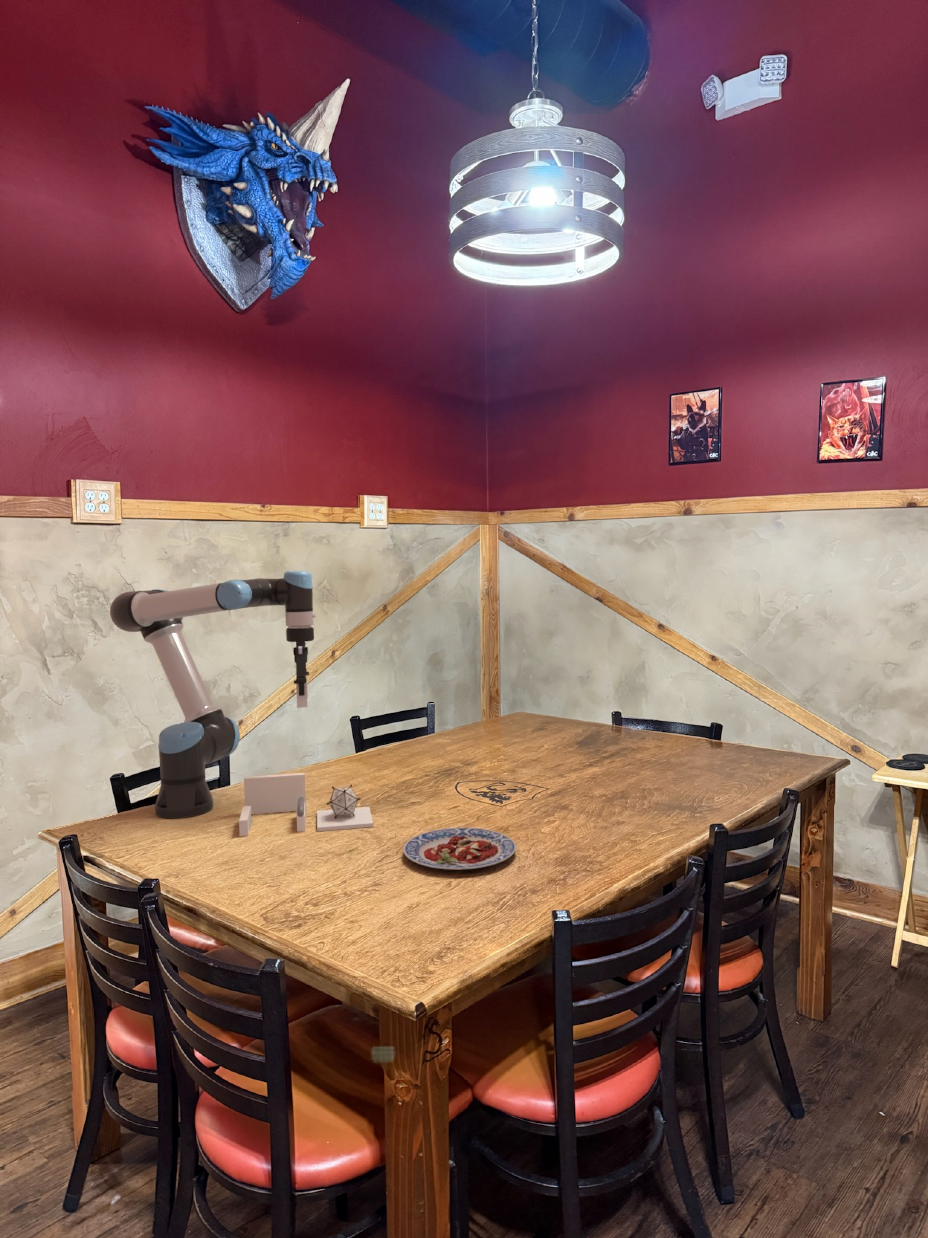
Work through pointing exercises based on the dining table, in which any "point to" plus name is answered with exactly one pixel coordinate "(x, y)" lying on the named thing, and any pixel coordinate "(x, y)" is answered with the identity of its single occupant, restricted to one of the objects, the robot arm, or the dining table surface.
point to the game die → (343, 801)
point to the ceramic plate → (459, 848)
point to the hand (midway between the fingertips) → (302, 703)
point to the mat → (344, 820)
